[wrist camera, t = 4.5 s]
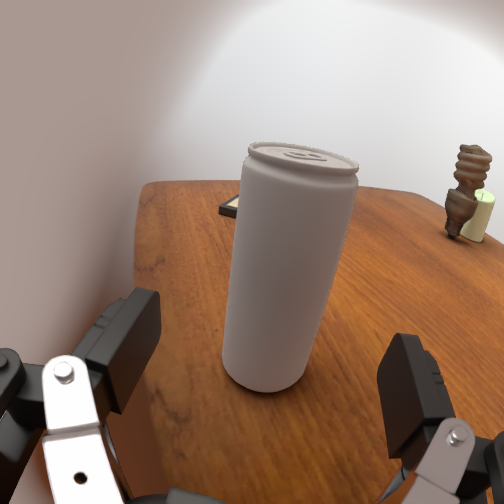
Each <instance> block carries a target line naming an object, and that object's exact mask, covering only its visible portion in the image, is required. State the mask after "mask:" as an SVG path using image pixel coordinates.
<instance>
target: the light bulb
mask: <svg viewBox="0 0 504 504" xmlns="http://www.w3.org/2000/svg"><path fill="white" fill-rule="evenodd" d="M460 151H461V152H460V153H459V154H458V156H457V157H458V159H459V161H458V162H457V163H456V168H457V170H456V171H455V172H454V177H455V179H456V180H457V181H458V182H459V186H458V187H457V188H456V189H449V190H448V194H447V198H446V201H445V209H446V213H447V222H446V225H445V229H446V230H447V232H448V236H449V237H450V238H453V239H455V237H457V236H459V234H460V231H461V229H462V228H463V225H464V224H465V223H466V222H467V221H469V220H470V219H471V218H472V217H473V216H474V214H475V212H476V209H477V206H478V203H479V202H478V200H477V198H476V197H475V190H477V189H482V188H483V187H484V182H483V181H484V180H485V179H486V178H487V174H486V173H485V172H487V171H489V169H490V165H489V163H490V162H491V161H492V156H491V155H490V154H488V153H487V152H486V151H484V150H483V149H482V148H481V147H480V146H478V145H471V146H468V145H461V146H460Z"/></svg>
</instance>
